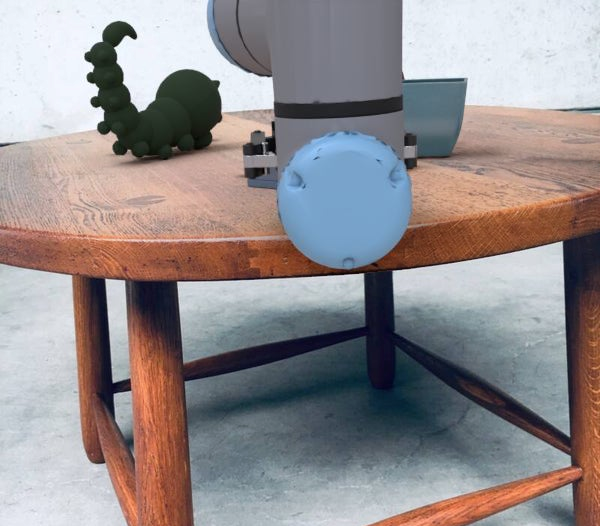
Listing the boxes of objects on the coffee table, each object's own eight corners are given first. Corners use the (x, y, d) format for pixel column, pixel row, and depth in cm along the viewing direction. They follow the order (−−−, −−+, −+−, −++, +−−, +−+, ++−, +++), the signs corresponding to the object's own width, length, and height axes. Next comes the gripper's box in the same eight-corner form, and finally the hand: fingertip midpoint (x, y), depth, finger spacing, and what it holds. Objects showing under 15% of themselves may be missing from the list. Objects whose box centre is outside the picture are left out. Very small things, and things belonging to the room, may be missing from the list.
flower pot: (466, 149, 117) (467, 76, 113) (465, 159, 109) (467, 80, 105) (398, 151, 118) (397, 79, 115) (393, 161, 110) (392, 83, 107)
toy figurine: (142, 181, 117) (251, 139, 135) (114, 24, 109) (235, 2, 127) (90, 178, 122) (202, 137, 140) (59, 28, 113) (183, 6, 132)
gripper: (207, 229, 64) (228, 178, 86) (465, 214, 64) (421, 168, 86) (197, 120, 62) (221, 96, 83) (467, 104, 61) (421, 84, 83)
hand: (322, 132), depth 84 cm, fingers closed on candle, 5 cm apart
